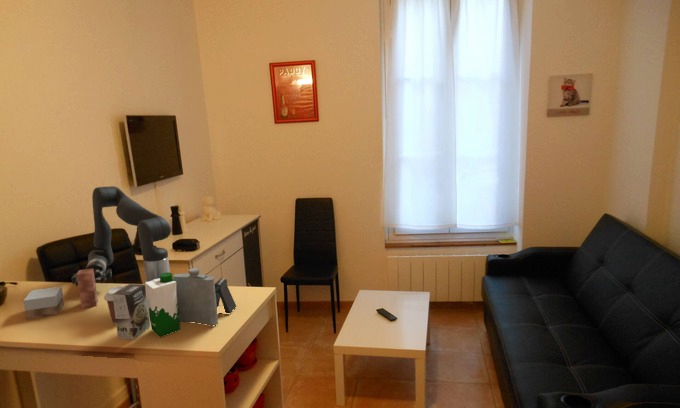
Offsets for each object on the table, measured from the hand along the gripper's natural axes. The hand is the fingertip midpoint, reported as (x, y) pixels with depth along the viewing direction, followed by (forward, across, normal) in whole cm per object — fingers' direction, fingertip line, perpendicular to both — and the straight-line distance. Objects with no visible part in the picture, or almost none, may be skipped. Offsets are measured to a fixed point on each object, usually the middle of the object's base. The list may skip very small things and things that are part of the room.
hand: (89, 282), depth 175 cm
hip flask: (+38, +39, +8) cm, 55 cm away
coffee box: (+37, +18, +8) cm, 42 cm away
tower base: (+5, -15, +8) cm, 18 cm away
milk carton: (+40, +28, +8) cm, 50 cm away
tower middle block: (+5, -15, +4) cm, 16 cm away
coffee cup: (+25, +13, +8) cm, 29 cm away
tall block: (+5, 0, +8) cm, 9 cm away
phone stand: (+32, +48, +8) cm, 58 cm away
